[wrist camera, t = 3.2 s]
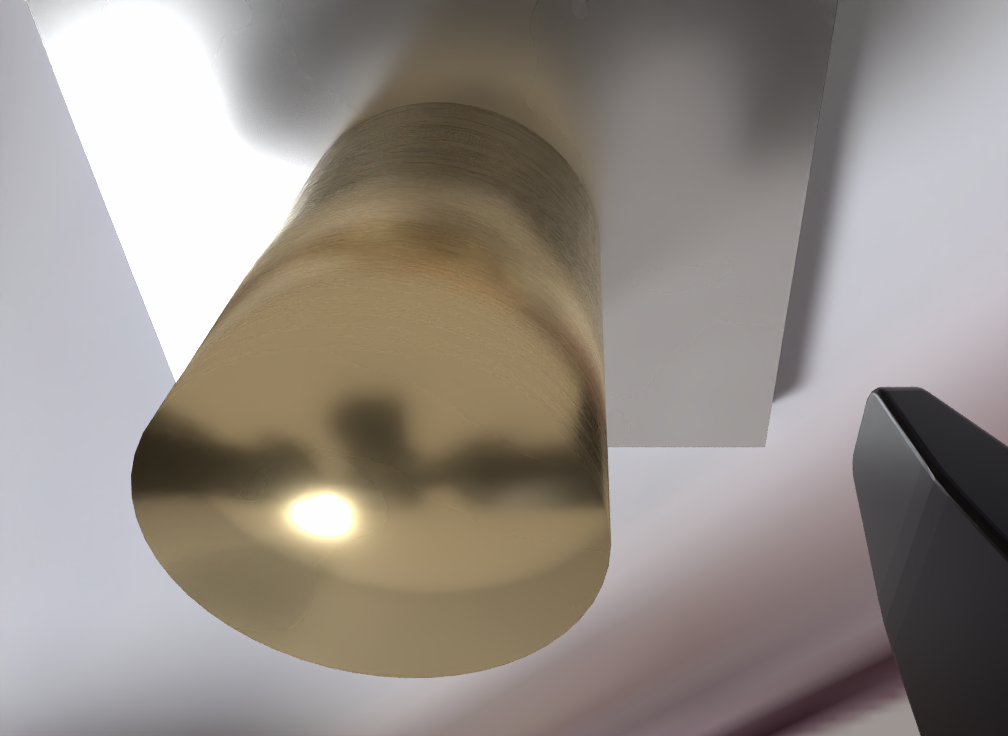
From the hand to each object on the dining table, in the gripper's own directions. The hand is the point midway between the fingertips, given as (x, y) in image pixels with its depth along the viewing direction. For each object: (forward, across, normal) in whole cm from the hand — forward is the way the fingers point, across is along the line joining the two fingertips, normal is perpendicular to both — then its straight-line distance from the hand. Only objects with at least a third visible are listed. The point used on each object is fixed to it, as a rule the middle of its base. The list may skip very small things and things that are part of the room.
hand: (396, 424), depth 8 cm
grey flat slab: (+4, 0, 0) cm, 4 cm away
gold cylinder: (+4, 0, 0) cm, 4 cm away
